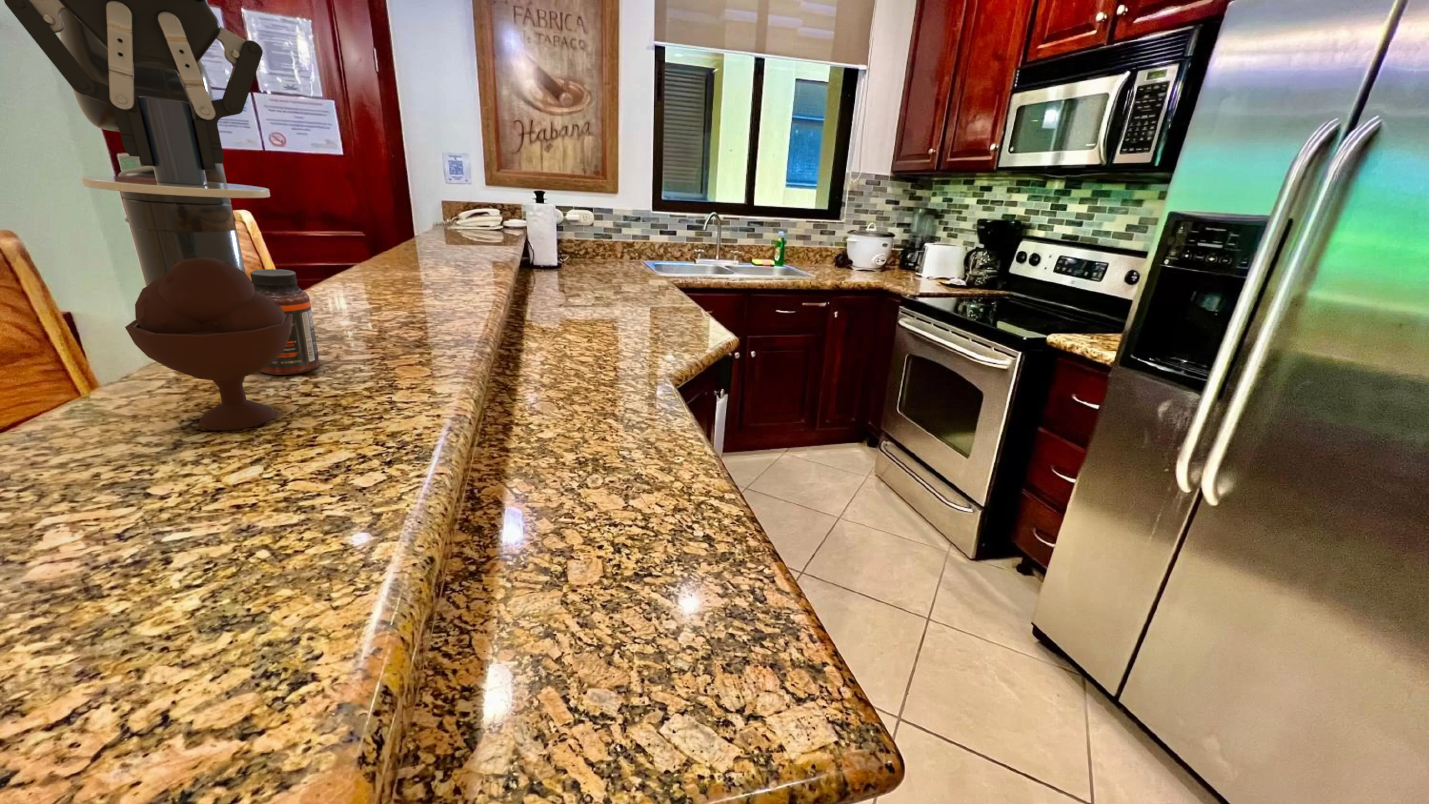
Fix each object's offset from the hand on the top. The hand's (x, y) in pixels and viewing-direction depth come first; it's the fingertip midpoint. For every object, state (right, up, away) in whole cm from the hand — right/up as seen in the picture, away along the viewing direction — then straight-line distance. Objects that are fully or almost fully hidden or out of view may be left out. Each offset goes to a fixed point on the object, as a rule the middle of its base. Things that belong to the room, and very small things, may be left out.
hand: (178, 166), depth 44 cm
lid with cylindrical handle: (0, -2, +1) cm, 2 cm away
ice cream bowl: (-2, -21, +8) cm, 22 cm away
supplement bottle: (-7, -15, +21) cm, 27 cm away
